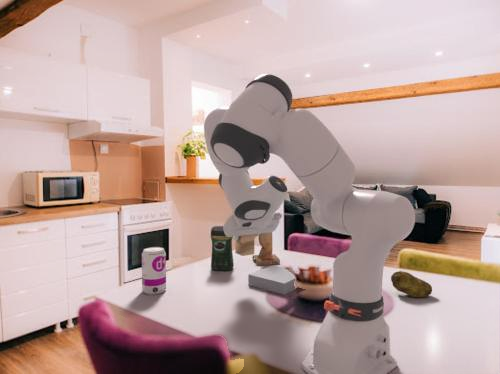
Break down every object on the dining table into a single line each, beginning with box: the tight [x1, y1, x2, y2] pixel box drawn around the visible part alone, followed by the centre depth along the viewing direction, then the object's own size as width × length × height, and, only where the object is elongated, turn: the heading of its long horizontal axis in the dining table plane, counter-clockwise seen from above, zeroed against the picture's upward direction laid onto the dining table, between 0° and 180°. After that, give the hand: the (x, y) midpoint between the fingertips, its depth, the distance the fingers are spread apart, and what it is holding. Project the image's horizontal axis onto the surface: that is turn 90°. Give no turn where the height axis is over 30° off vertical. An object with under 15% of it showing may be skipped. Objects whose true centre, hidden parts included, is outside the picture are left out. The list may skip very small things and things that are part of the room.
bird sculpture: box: [252, 232, 281, 266], centre depth 162 cm, size 11×12×32 cm
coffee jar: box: [209, 225, 235, 272], centre depth 152 cm, size 10×8×19 cm
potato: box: [390, 270, 433, 298], centre depth 121 cm, size 8×13×8 cm, turn 63°
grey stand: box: [248, 264, 300, 296], centre depth 133 cm, size 16×16×4 cm
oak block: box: [234, 234, 255, 257], centre depth 127 cm, size 5×5×10 cm
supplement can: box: [141, 246, 167, 296], centre depth 125 cm, size 8×8×15 cm
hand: (244, 238), depth 127 cm, fingers closed on oak block, 5 cm apart
